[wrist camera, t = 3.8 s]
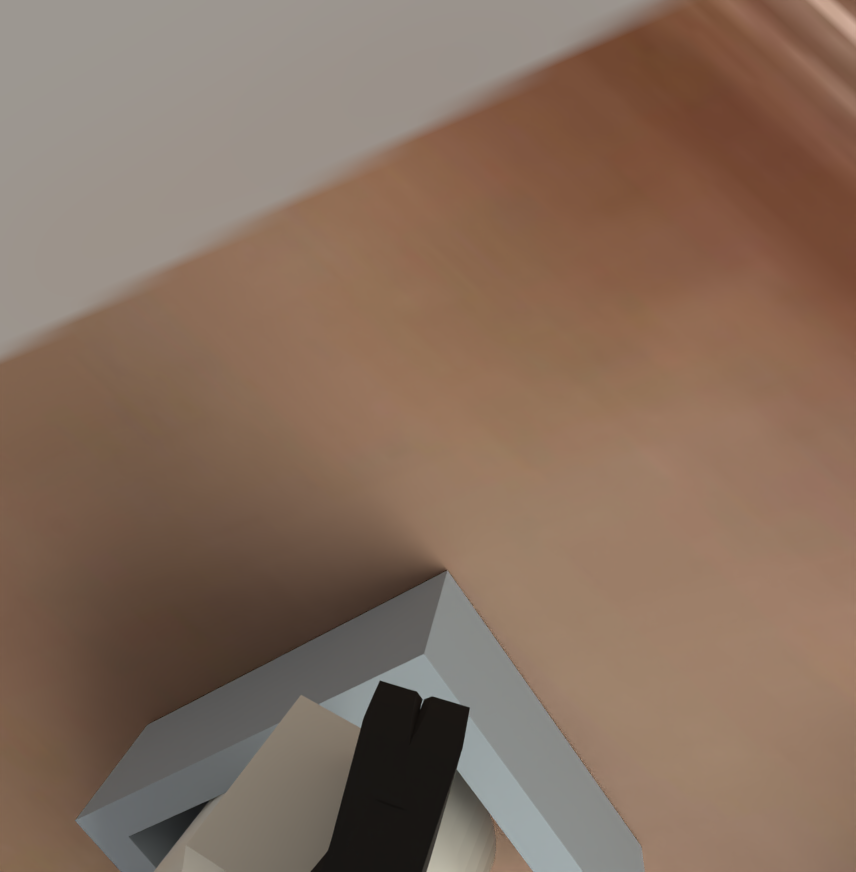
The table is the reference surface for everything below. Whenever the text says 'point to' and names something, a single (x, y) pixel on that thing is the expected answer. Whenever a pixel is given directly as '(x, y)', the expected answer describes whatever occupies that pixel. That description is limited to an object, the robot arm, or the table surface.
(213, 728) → the holder
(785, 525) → the table surface
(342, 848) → the robot arm
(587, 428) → the table surface
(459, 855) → the cream egg with arms
